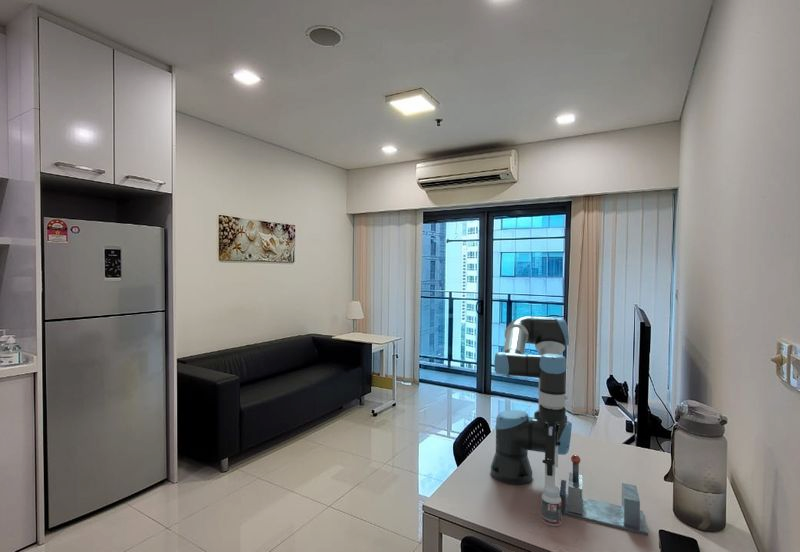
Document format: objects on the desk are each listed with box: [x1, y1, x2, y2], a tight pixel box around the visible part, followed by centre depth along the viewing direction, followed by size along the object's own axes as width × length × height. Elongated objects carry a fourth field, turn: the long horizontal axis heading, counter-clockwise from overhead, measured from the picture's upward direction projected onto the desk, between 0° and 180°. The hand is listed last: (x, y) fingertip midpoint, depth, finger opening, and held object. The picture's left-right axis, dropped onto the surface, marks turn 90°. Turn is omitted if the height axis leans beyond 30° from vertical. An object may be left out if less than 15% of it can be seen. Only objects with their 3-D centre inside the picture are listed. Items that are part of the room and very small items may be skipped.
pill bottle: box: [540, 484, 562, 527], centre depth 123 cm, size 6×6×10 cm
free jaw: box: [567, 454, 583, 514], centre depth 130 cm, size 4×10×16 cm, turn 155°
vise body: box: [559, 479, 649, 536], centre depth 127 cm, size 24×12×9 cm, turn 65°
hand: (551, 475), depth 123 cm, fingers open, 13 cm apart
